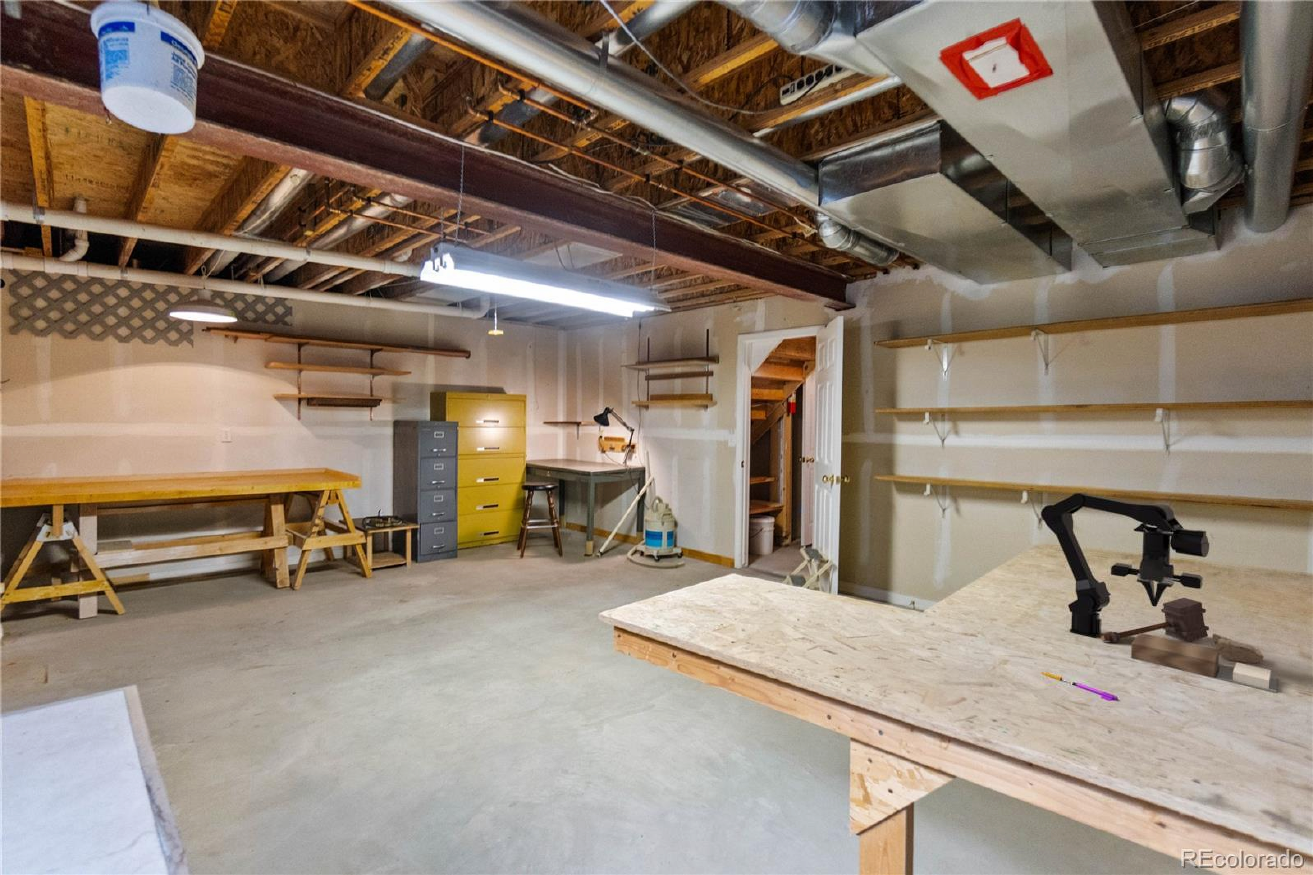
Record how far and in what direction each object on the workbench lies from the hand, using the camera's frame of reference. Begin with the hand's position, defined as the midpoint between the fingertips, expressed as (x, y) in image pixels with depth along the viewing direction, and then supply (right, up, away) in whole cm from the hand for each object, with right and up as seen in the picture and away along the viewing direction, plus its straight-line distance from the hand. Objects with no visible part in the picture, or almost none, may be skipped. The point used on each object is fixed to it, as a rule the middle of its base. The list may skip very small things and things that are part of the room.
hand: (1154, 606), depth 160 cm
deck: (-1, -13, -7) cm, 14 cm away
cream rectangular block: (+9, -11, -18) cm, 23 cm away
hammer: (+7, -13, +9) cm, 17 cm away
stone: (+19, -13, -3) cm, 23 cm away
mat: (+9, -13, -17) cm, 23 cm away
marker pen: (-38, -13, -23) cm, 46 cm away
